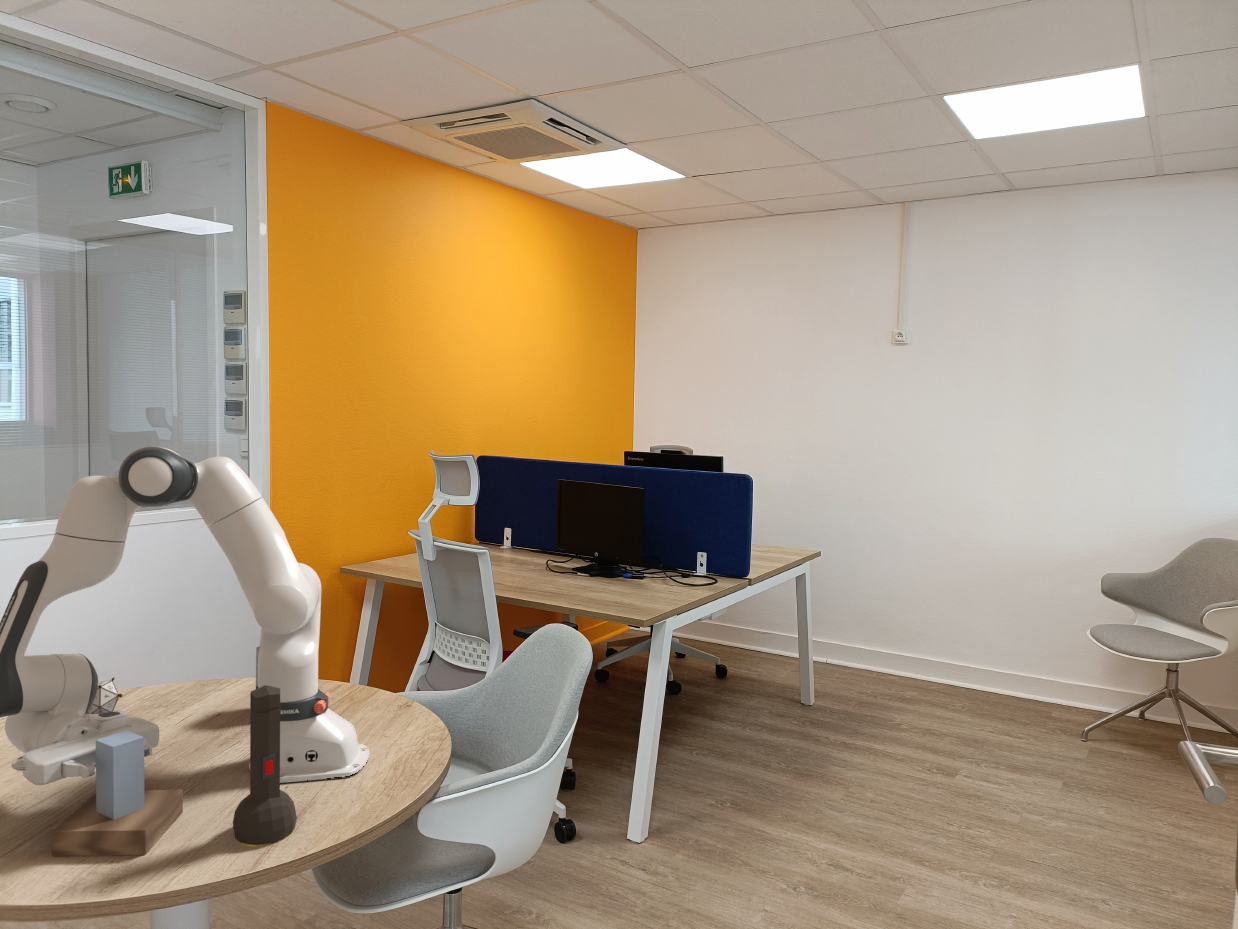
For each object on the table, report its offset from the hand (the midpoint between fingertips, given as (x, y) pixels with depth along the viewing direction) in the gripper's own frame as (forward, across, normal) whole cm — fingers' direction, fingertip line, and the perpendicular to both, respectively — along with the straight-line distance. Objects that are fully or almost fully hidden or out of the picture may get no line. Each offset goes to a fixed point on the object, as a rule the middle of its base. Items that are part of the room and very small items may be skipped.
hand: (120, 761), depth 140 cm
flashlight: (+19, +13, +12) cm, 26 cm away
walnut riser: (0, 0, +12) cm, 12 cm away
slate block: (0, 0, +8) cm, 8 cm away
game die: (-54, +27, +12) cm, 62 cm away
